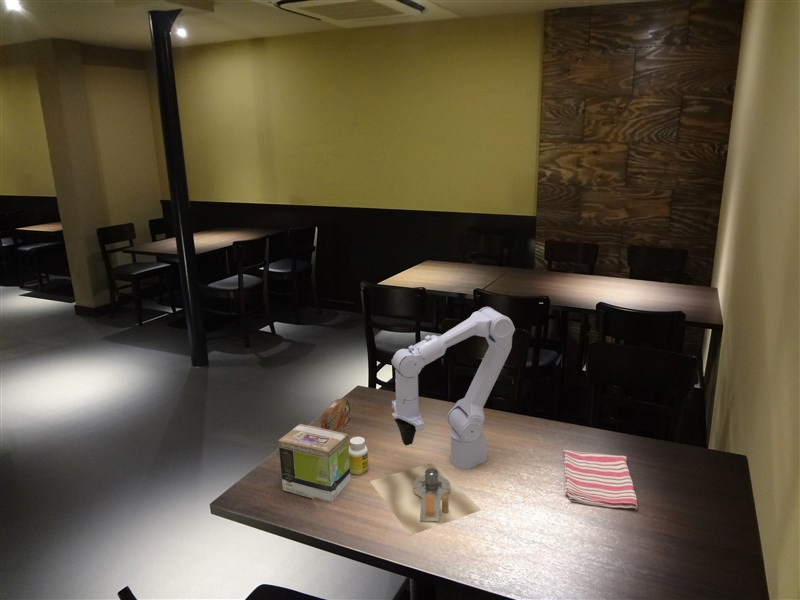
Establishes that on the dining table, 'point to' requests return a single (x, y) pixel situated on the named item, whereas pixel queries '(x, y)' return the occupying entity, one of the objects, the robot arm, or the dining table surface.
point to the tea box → (314, 462)
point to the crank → (430, 498)
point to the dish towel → (598, 480)
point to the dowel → (445, 503)
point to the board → (420, 499)
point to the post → (431, 480)
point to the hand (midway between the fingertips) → (407, 443)
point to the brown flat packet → (336, 415)
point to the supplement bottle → (358, 456)
